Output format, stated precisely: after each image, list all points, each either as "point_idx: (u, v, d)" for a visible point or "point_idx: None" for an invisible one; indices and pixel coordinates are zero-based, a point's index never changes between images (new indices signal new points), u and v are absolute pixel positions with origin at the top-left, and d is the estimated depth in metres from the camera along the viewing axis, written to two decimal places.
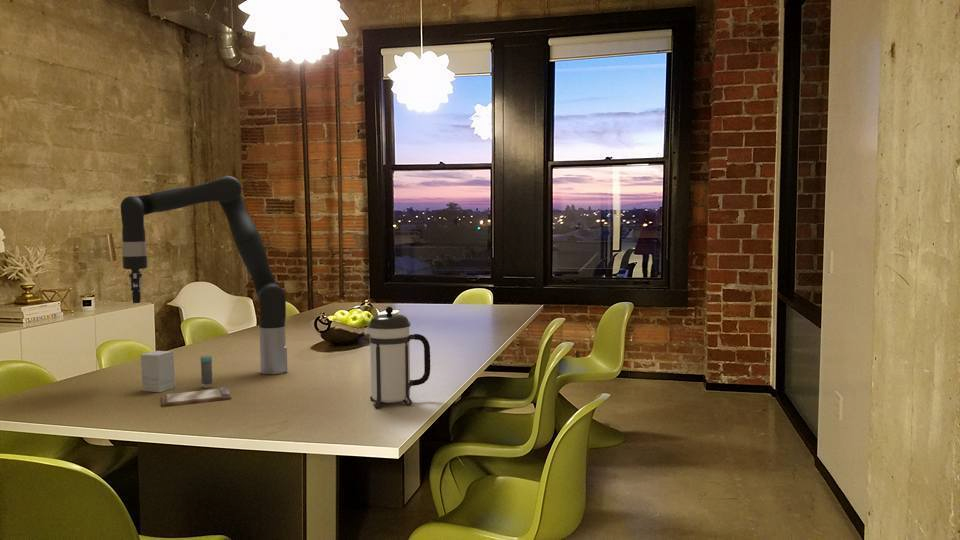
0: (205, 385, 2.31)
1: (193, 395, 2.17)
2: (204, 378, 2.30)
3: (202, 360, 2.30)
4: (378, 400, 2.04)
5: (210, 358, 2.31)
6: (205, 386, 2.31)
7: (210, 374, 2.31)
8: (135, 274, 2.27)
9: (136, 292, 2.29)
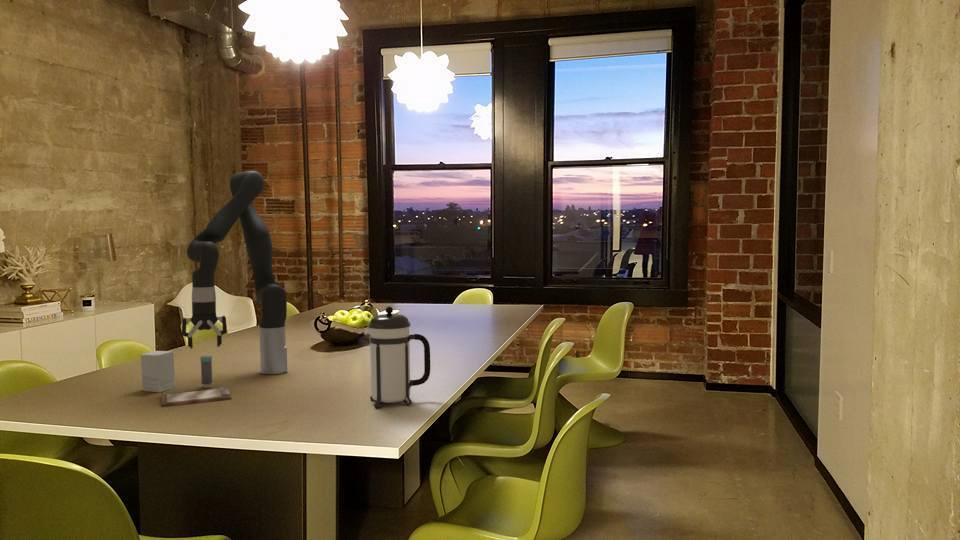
0: (205, 385, 2.31)
1: (193, 395, 2.17)
2: (204, 378, 2.30)
3: (202, 360, 2.30)
4: (378, 400, 2.04)
5: (210, 358, 2.31)
6: (205, 386, 2.31)
7: (210, 374, 2.31)
8: None
9: (221, 335, 2.34)
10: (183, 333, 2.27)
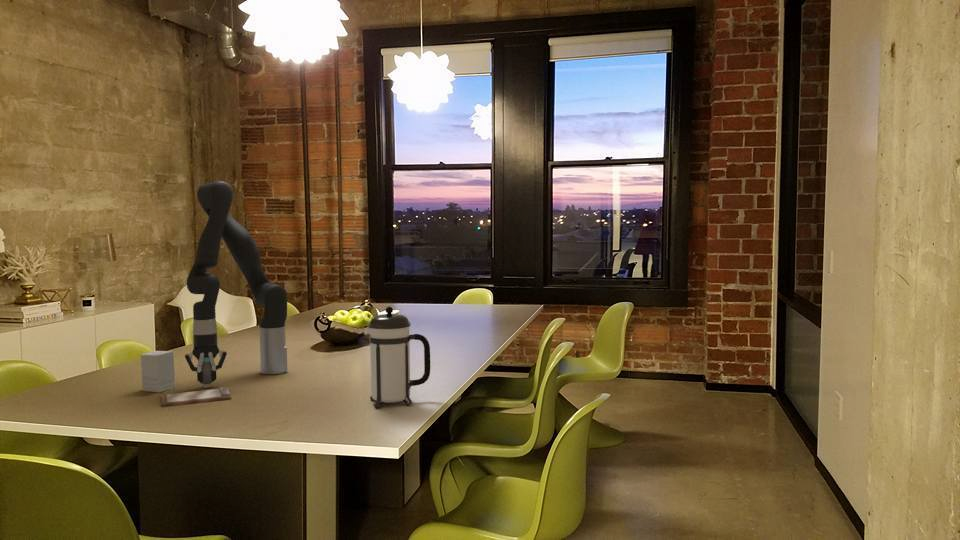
0: (205, 385, 2.31)
1: (193, 395, 2.17)
2: (204, 378, 2.30)
3: None
4: (378, 400, 2.04)
5: None
6: (205, 386, 2.31)
7: (210, 374, 2.31)
8: None
9: None
10: (192, 368, 2.29)
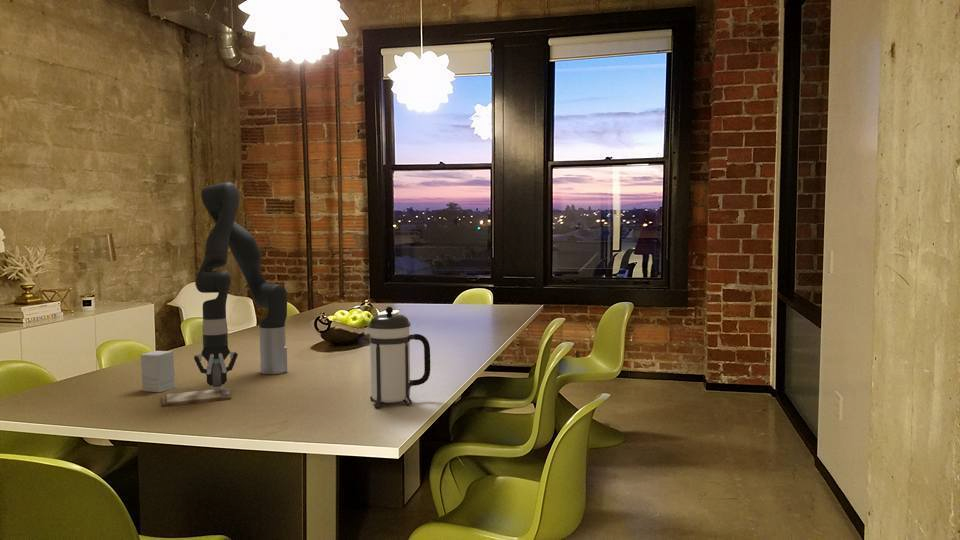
0: (215, 388, 2.20)
1: (193, 395, 2.17)
2: (214, 380, 2.19)
3: None
4: (378, 400, 2.04)
5: None
6: (215, 389, 2.20)
7: (220, 376, 2.20)
8: None
9: (226, 372, 2.22)
10: (201, 370, 2.18)
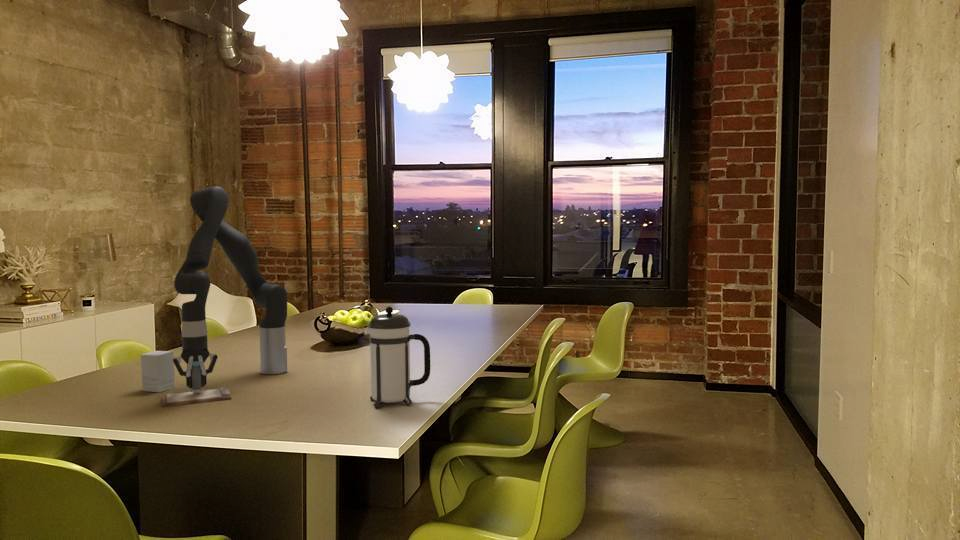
0: (195, 390, 2.18)
1: (193, 395, 2.17)
2: (194, 383, 2.17)
3: None
4: (378, 400, 2.04)
5: None
6: (195, 391, 2.18)
7: (200, 379, 2.18)
8: None
9: (206, 374, 2.20)
10: (181, 373, 2.15)
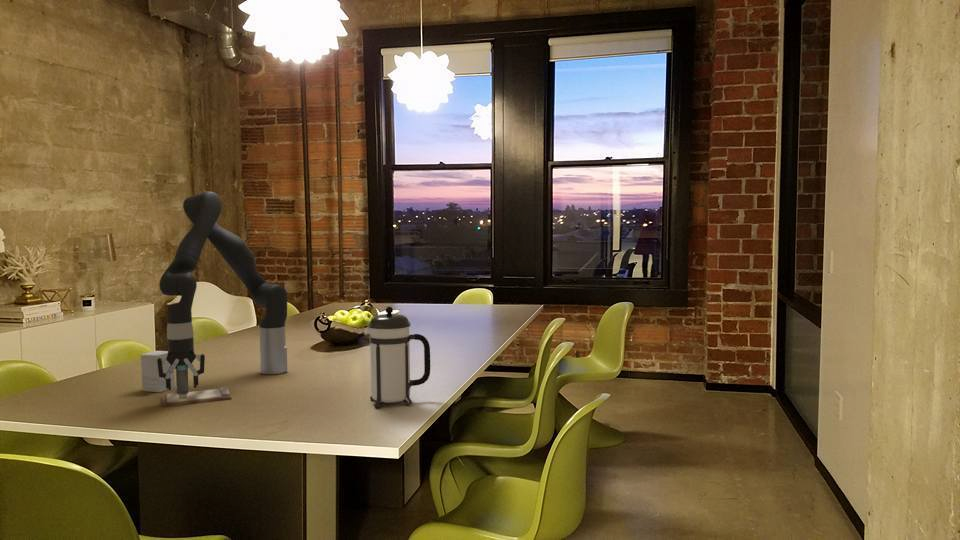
0: (180, 395, 2.13)
1: (193, 395, 2.17)
2: (180, 387, 2.12)
3: (177, 368, 2.12)
4: (378, 400, 2.04)
5: None
6: (180, 396, 2.13)
7: (186, 383, 2.14)
8: None
9: None
10: (160, 374, 2.10)
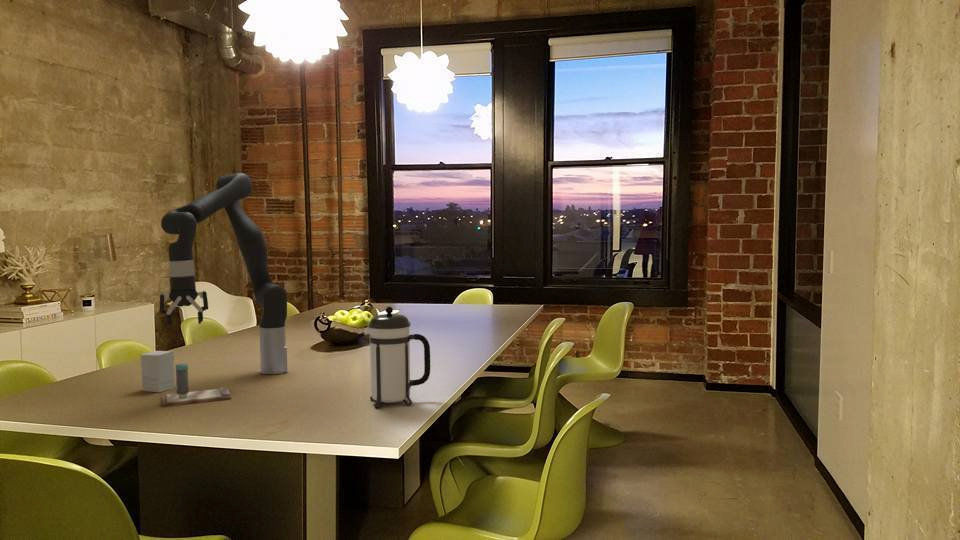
0: (180, 395, 2.13)
1: (193, 395, 2.17)
2: (180, 387, 2.12)
3: (177, 368, 2.12)
4: (378, 400, 2.04)
5: (186, 366, 2.13)
6: (180, 396, 2.13)
7: (186, 383, 2.13)
8: None
9: (202, 311, 2.21)
10: (161, 310, 2.14)
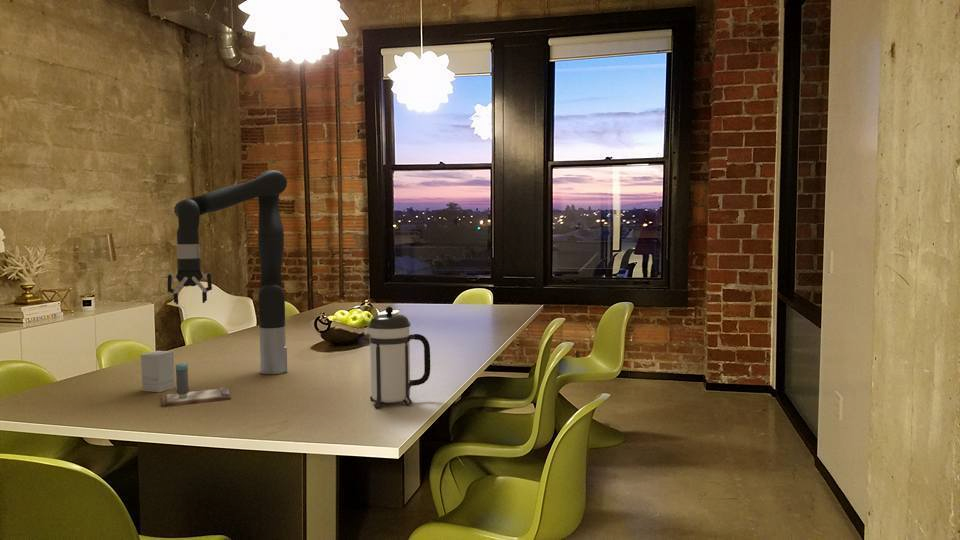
0: (180, 395, 2.13)
1: (193, 395, 2.17)
2: (180, 387, 2.12)
3: (177, 368, 2.12)
4: (378, 400, 2.04)
5: (186, 366, 2.13)
6: (180, 396, 2.13)
7: (186, 383, 2.14)
8: None
9: (206, 292, 2.39)
10: (169, 289, 2.33)
